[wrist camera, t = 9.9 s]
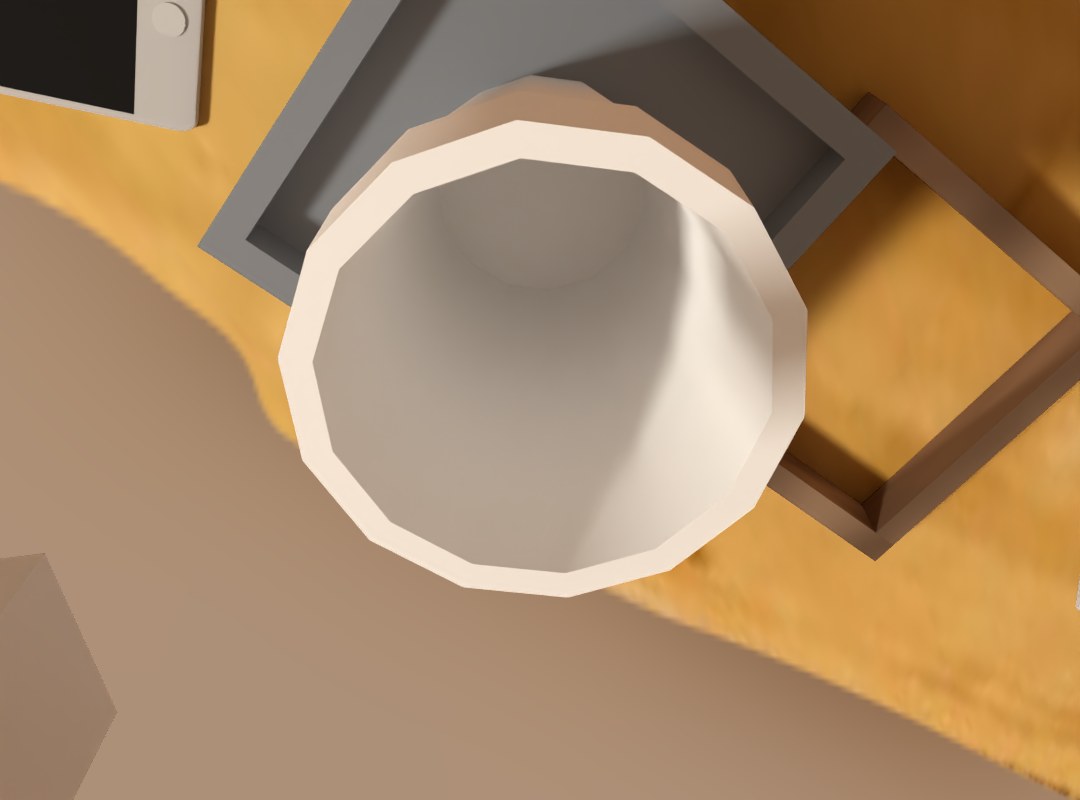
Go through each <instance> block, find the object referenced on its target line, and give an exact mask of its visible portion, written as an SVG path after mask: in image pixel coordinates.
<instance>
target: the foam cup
mask: <svg viewBox="0 0 1080 800" xmlns="http://www.w3.org/2000/svg"><path fill="white" fill-rule="evenodd" d="M807 313H808V310H807V308H806V306H805V304H804V302H803V300H802V298H801V296H800V294H799V292H798V290H797V288H796V287H795V285H794V283H793V281H792V279H791V277H790V275H789V273H788V271H787V269H786V267H785V265H784V264H783V262H782V260H781V258H780V256H779V254H778V252H777V250H776V248H775V246H774V244H773V243H772V241H771V239H770V237H769V235H768V233H767V231H766V229H765V227H764V225H763V223H762V221H761V220H760V218H759V216H758V214H757V212H756V210H755V208H754V206H753V205H752V203H751V202H750V200H749V199H748V197H747V196H746V194H745V193H744V191H743V190H742V188H741V186H740V185H739V183H738V182H737V180H736V179H735V177H734V176H733V174H732V173H731V171H730V170H729V169H728V168H726V167H725V166H723V165H722V164H720V163H719V162H717V161H716V160H714V159H713V158H711V157H710V156H709V155H707V154H706V153H704V152H703V151H701V150H700V149H698V148H697V147H695V146H694V145H692V144H691V143H689V142H688V141H687V140H685V139H684V138H682V137H681V136H679V135H678V134H676V133H675V132H673V131H672V130H670V129H669V128H667V127H666V126H665V125H663V124H662V123H660V122H659V121H657V120H656V119H654V118H653V117H651V116H650V115H648V114H647V113H645V112H644V111H643V110H641V109H640V108H638V107H637V106H631V105H623V104H615V103H613V102H611V101H610V100H608V99H607V98H605V97H604V96H602V95H601V94H599V93H598V92H596V91H595V90H593V89H592V88H590V87H589V86H588V85H586V84H585V83H583V82H581V81H573V80H566V79H558V78H551V77H543V76H535V75H529V76H526V77H523V78H520V79H517V80H514V81H511V82H509V83H506V84H503V85H500V86H497V87H494V88H491V89H488V90H485V91H483V92H481V93H479V94H477V95H476V96H475V97H473V98H472V99H470V100H469V101H467V102H466V103H465V104H463V105H462V106H460V107H459V108H457V109H456V110H455V111H453V112H452V113H450V114H449V115H447V116H445V117H442V118H439V119H436V120H433V121H430V122H427V123H425V124H422V125H419V126H416V127H413V128H410V129H408V130H407V131H406V132H405V133H404V134H403V135H402V136H401V137H400V138H399V139H398V140H397V141H396V142H395V143H394V144H393V146H392V147H391V148H390V149H389V150H388V151H387V152H386V153H385V154H384V155H383V156H382V157H381V158H380V159H379V160H378V161H377V162H376V163H375V164H374V165H373V166H372V167H371V169H370V170H369V171H368V172H367V173H366V174H365V175H364V176H363V177H362V178H361V179H360V180H359V181H358V182H357V183H356V184H355V185H354V186H353V187H352V188H351V189H350V190H349V192H348V193H347V194H346V195H345V196H344V197H343V198H342V199H341V200H340V201H339V202H338V203H337V204H336V205H335V206H334V207H333V208H332V210H331V211H330V213H329V215H328V216H327V218H326V220H325V221H324V223H323V224H322V226H321V228H320V229H319V231H318V233H317V234H316V236H315V238H314V239H313V241H312V243H311V244H310V246H309V248H308V249H307V251H306V255H305V259H304V263H303V266H302V270H301V274H300V277H299V281H298V285H297V289H296V292H295V296H294V300H293V303H292V307H291V311H290V314H289V318H288V322H287V326H286V329H285V333H284V337H283V340H282V344H281V348H280V352H279V355H278V362H279V366H280V370H281V374H282V378H283V382H284V386H285V390H286V394H287V398H288V403H289V407H290V411H291V415H292V419H293V423H294V427H295V431H296V435H297V439H298V444H299V448H300V451H301V455H302V460H303V462H304V463H305V464H306V465H307V466H308V468H309V469H310V470H311V471H312V472H313V473H314V475H315V476H316V477H317V478H318V479H319V481H320V482H321V483H322V484H323V485H324V487H325V488H326V489H327V490H328V491H329V492H330V494H331V495H332V496H333V497H334V498H335V500H336V501H337V502H338V503H339V504H340V506H341V507H342V508H343V509H344V510H345V511H346V513H347V514H348V515H349V516H350V517H351V519H352V520H353V521H354V522H355V523H356V525H357V526H358V527H359V528H360V529H361V530H362V531H363V533H364V534H365V535H366V536H367V538H368V539H369V540H370V541H372V542H374V543H376V544H378V545H380V546H382V547H384V548H386V549H388V550H390V551H392V552H394V553H396V554H398V555H400V556H402V557H404V558H406V559H408V560H410V561H412V562H414V563H416V564H418V565H420V566H422V567H424V568H426V569H428V570H430V571H432V572H434V573H436V574H438V575H440V576H442V577H444V578H446V579H448V580H450V581H452V582H454V583H456V584H458V585H460V586H462V587H467V588H477V589H487V590H497V591H507V592H519V593H528V594H538V595H549V596H558V597H571V596H575V595H579V594H583V593H586V592H590V591H594V590H597V589H602V588H605V587H609V586H613V585H617V584H620V583H624V582H628V581H632V580H635V579H639V578H643V577H647V576H650V575H654V574H658V573H662V572H666V571H669V570H671V569H672V568H674V567H675V566H676V565H678V564H679V563H680V562H682V561H683V560H684V559H686V558H687V557H688V556H690V555H691V554H692V553H694V552H695V551H697V550H698V549H699V548H701V547H702V546H703V545H705V544H706V543H707V542H709V541H710V540H711V539H713V538H714V537H715V536H717V535H718V534H719V533H721V532H722V531H724V530H725V529H726V528H728V527H729V526H730V525H732V524H733V523H734V522H736V521H737V520H738V519H740V518H741V517H742V516H744V515H745V514H746V513H748V512H749V511H750V510H752V509H753V508H754V507H755V505H756V503H757V501H758V500H759V498H760V496H761V494H762V492H763V491H764V489H765V487H766V485H767V483H768V482H769V480H770V478H771V476H772V474H773V473H774V471H775V469H776V467H777V465H778V464H779V462H780V460H781V458H782V456H783V455H784V453H785V451H786V449H787V447H788V446H789V444H790V442H791V440H792V439H793V437H794V435H795V433H796V431H797V430H798V428H799V426H800V424H801V422H802V421H803V419H804V417H805V383H806V348H807Z"/></svg>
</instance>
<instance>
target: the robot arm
mask: <svg viewBox="0 0 1080 800" xmlns="http://www.w3.org/2000/svg"><path fill="white" fill-rule="evenodd" d="M1076 607H1077V609H1078V610H1079V611H1080V580H1079V587H1078V594H1077V602H1076ZM116 713H117V710H116V708H115V706H114V704H113V702H112V699H111V697H110V695H109V693H108V691H107V688H106V686H105V684H104V682H103V680H102V678H101V675H100V673H99V671H98V669H97V666H96V664H95V662H94V660H93V658H92V655H91V653H90V651H89V649H88V647H87V645H86V642H85V640H84V638H83V636H82V634H81V632H80V629H79V627H78V625H77V623H76V621H75V618H74V616H73V614H72V612H71V610H70V607H69V606H68V603H67V601H66V599H65V597H64V594H63V592H62V590H61V588H60V586H59V584H58V581H57V579H56V577H55V575H54V573H53V570H52V568H51V566H50V564H49V562H48V559H47V557H46V555H45V553H43V554H35V555H26V556H18V557H10V558H1V559H0V800H73V799H74V797H75V795H76V793H77V791H78V789H79V787H80V785H81V783H82V781H83V779H84V777H85V775H86V773H87V771H88V769H89V767H90V765H91V763H92V761H93V759H94V757H95V755H96V753H97V751H98V749H99V747H100V745H101V743H102V741H103V739H104V737H105V735H106V733H107V731H108V729H109V727H110V725H111V723H112V721H113V719H114V717H115V715H116Z"/></svg>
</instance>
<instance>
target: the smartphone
mask: <svg viewBox="0 0 1080 800" xmlns="http://www.w3.org/2000/svg"><path fill="white" fill-rule="evenodd" d="M205 3H206V0H0V94H5V95H10V96H14V97H19V98H24V99H29V100H33V101H38V102H43V103H48V104H52V105H57V106H62V107H67V108H71V109H76V110H81V111H86V112H90V113H95V114H100V115H105V116H109V117H114V118H119V119H124V120H128V121H133V122H138V123H143V124H147V125H152V126H157V127H162V128H166V129H171V130H177V131H188V130H191V129H193V128H194V127H196V126H197V124H198V123H199V106H200V89H201V72H202V55H203V38H204V21H205Z"/></svg>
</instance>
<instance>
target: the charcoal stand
mask: <svg viewBox="0 0 1080 800" xmlns="http://www.w3.org/2000/svg"><path fill="white" fill-rule="evenodd" d="M529 75H535V76H543V77H551V78H558V79H566V80H573V81H581V82H583V83H585V84H586V85H588V86H589V87H590V88H592V89H593V90H595V91H596V92H598V93H599V94H601V95H602V96H604V97H605V98H607V99H608V100H610V101H611V102H613V103H615V104H623V105H631V106H637V107H638V108H640V109H641V110H643V111H644V112H645V113H647V114H648V115H650V116H651V117H653V118H654V119H656V120H657V121H659V122H660V123H662V124H663V125H665V126H666V127H667V128H669V129H670V130H672V131H673V132H675V133H676V134H678V135H679V136H681V137H682V138H684V139H685V140H687V141H688V142H689V143H691V144H692V145H694V146H695V147H697V148H698V149H700V150H701V151H703V152H704V153H706V154H707V155H709V156H710V157H711V158H713V159H714V160H716V161H717V162H719V163H720V164H722V165H723V166H725V167H726V168H728V169H729V170H730V171H731V173H732V174H733V176H734V177H735V179H736V180H737V182H738V183H739V185H740V186H741V188H742V190H743V191H744V193H745V194H746V196H747V197H748V199H749V200H750V202H751V203H752V205H753V206H754V208H755V210H756V212H757V214H758V216H759V218H760V220H761V221H762V223H763V225H764V227H765V229H766V231H767V233H768V235H769V237H770V239H771V241H772V243H773V244H774V246H775V248H776V250H777V252H778V254H779V256H780V258H781V260H782V262H783V264H784V265H785V267H786V269H787V271H788V270H789V269H790V268H791V267H792V265H793V264H794V263H795V262H796V261H797V260H798V259H799V258H800V257H801V256H802V255H803V254H804V253H805V251H806V250H807V249H808V248H809V247H810V246H811V245H812V244H813V243H814V242H815V241H816V240H817V238H818V237H819V236H820V235H821V234H822V233H823V232H824V231H825V230H826V229H827V228H828V227H829V225H830V224H831V223H832V222H833V221H834V220H835V219H836V218H837V217H838V216H839V215H840V214H841V213H842V211H843V210H844V209H845V208H846V207H847V206H848V205H849V204H850V203H851V202H852V201H853V200H854V198H855V197H856V196H857V195H858V194H859V193H860V192H861V191H862V190H863V189H864V188H865V187H866V186H867V184H868V183H869V182H870V181H871V180H872V179H873V178H874V177H875V176H876V175H877V174H878V173H879V171H880V170H881V169H882V168H883V167H884V166H885V165H886V164H887V163H888V162H889V161H890V160H891V159H892V157H893V156H894V155H895V154H896V153H897V152H896V151H895V150H894V149H893V148H892V147H890V146H889V145H888V144H887V143H886V142H885V141H884V140H882V139H881V138H880V137H879V136H878V135H877V134H875V133H874V132H873V131H872V130H871V129H870V128H869V127H867V126H866V125H865V124H864V123H863V122H862V121H861V120H859V119H858V118H857V117H856V116H855V115H854V114H853V113H851V112H850V111H849V110H848V109H847V108H846V107H844V106H843V105H842V104H841V103H840V102H839V101H838V100H836V99H835V98H834V97H833V96H832V95H831V94H830V93H828V92H827V91H826V90H825V89H824V88H823V87H822V86H820V85H819V84H818V83H817V82H816V81H815V80H814V79H812V78H811V77H810V76H809V75H808V74H807V73H805V72H804V71H803V70H802V69H801V68H800V67H799V66H797V65H796V64H795V63H794V62H793V61H792V60H791V59H789V58H788V57H787V56H786V55H785V54H784V53H783V52H781V51H780V50H779V49H778V48H777V47H776V46H774V45H773V44H772V43H771V42H770V41H769V40H768V39H766V38H765V37H764V36H763V35H762V34H761V33H760V32H758V31H757V30H756V29H755V28H754V27H753V26H752V25H750V24H749V23H748V22H747V21H746V20H745V19H743V18H742V17H741V16H740V15H739V14H738V13H737V12H735V11H734V10H733V9H732V8H731V7H730V6H729V5H727V4H726V3H725V2H724V1H723V0H352V1H351V2H350V4H349V6H348V7H347V9H346V10H345V12H344V14H343V15H342V17H341V18H340V20H339V22H338V23H337V25H336V26H335V28H334V29H333V31H332V33H331V34H330V36H329V37H328V39H327V41H326V42H325V44H324V45H323V47H322V49H321V50H320V52H319V53H318V55H317V56H316V58H315V60H314V61H313V63H312V64H311V66H310V68H309V69H308V71H307V72H306V74H305V76H304V77H303V79H302V80H301V82H300V84H299V85H298V87H297V88H296V90H295V91H294V93H293V95H292V96H291V98H290V99H289V101H288V103H287V104H286V106H285V107H284V109H283V111H282V112H281V114H280V115H279V117H278V119H277V120H276V122H275V123H274V125H273V126H272V128H271V130H270V131H269V133H268V134H267V136H266V138H265V139H264V141H263V142H262V144H261V146H260V147H259V149H258V150H257V152H256V154H255V155H254V157H253V158H252V160H251V161H250V163H249V165H248V166H247V168H246V169H245V171H244V173H243V174H242V176H241V177H240V179H239V181H238V182H237V184H236V185H235V187H234V189H233V190H232V192H231V193H230V195H229V196H228V198H227V200H226V201H225V203H224V204H223V206H222V208H221V209H220V211H219V212H218V214H217V216H216V217H215V219H214V220H213V222H212V224H211V225H210V227H209V228H208V230H207V231H206V233H205V235H204V236H203V238H202V239H201V241H200V243H199V244H198V246H197V247H199V248H201V249H202V250H204V251H205V252H207V253H208V254H210V255H211V256H213V257H214V258H216V259H218V260H219V261H221V262H222V263H224V264H225V265H227V266H228V267H230V268H231V269H233V270H235V271H236V272H238V273H239V274H241V275H242V276H244V277H245V278H247V279H249V280H250V281H252V282H253V283H255V284H256V285H258V286H259V287H261V288H262V289H264V290H266V291H267V292H269V293H270V294H272V295H273V296H275V297H276V298H278V299H279V300H281V301H283V302H284V303H286V304H287V305H289V306H290V307H292V303H293V300H294V296H295V292H296V289H297V285H298V281H299V277H300V274H301V270H302V266H303V263H304V259H305V255H306V251H307V249H308V248H309V246H310V244H311V243H312V241H313V239H314V238H315V236H316V234H317V233H318V231H319V229H320V228H321V226H322V224H323V223H324V221H325V220H326V218H327V216H328V215H329V213H330V211H331V210H332V208H333V207H334V206H335V205H336V204H337V203H338V202H339V201H340V200H341V199H342V198H343V197H344V196H345V195H346V194H347V193H348V192H349V190H350V189H351V188H352V187H353V186H354V185H355V184H356V183H357V182H358V181H359V180H360V179H361V178H362V177H363V176H364V175H365V174H366V173H367V172H368V171H369V170H370V169H371V167H372V166H373V165H374V164H375V163H376V162H377V161H378V160H379V159H380V158H381V157H382V156H383V155H384V154H385V153H386V152H387V151H388V150H389V149H390V148H391V147H392V146H393V144H394V143H395V142H396V141H397V140H398V139H399V138H400V137H401V136H402V135H403V134H404V133H405V132H406V131H407V130H408V129H410V128H413V127H416V126H419V125H422V124H425V123H427V122H430V121H433V120H436V119H439V118H442V117H445V116H447V115H449V114H450V113H452V112H453V111H455V110H456V109H457V108H459V107H460V106H462V105H463V104H465V103H466V102H467V101H469V100H470V99H472V98H473V97H475V96H476V95H477V94H479V93H481V92H483V91H485V90H488V89H491V88H494V87H497V86H500V85H503V84H506V83H509V82H511V81H514V80H517V79H520V78H523V77H526V76H529Z"/></svg>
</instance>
